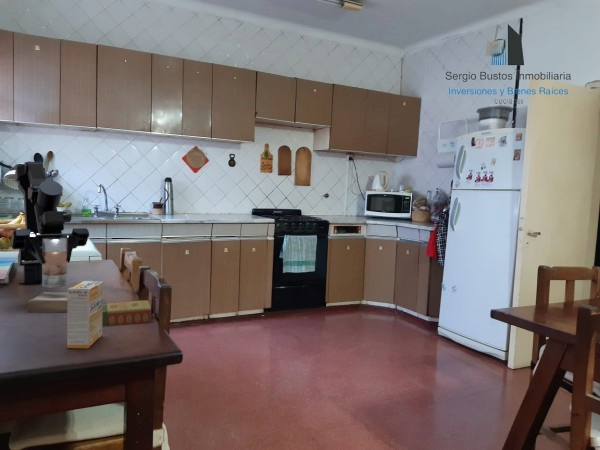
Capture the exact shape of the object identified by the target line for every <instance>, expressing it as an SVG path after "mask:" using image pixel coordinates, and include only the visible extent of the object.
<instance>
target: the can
mask: <svg viewBox="0 0 600 450" xmlns="http://www.w3.org/2000/svg"><path fill="white" fill-rule="evenodd" d="M67 253H68V250H67V238H63V237H49V238H43V239H42V255H43V261H44V263H43V264H42V283H41V284H42V287H43V288H49V289H52V288H53V289H56V288H62V287H66V286H67V285H68V261H67Z"/></svg>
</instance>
